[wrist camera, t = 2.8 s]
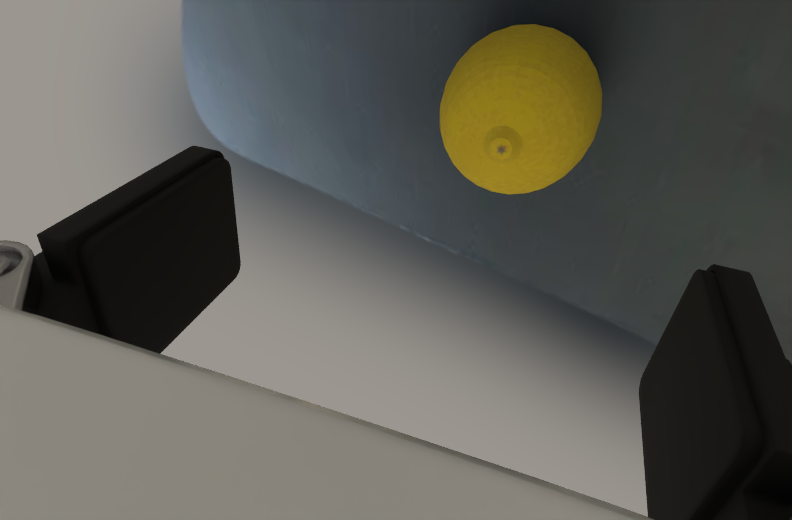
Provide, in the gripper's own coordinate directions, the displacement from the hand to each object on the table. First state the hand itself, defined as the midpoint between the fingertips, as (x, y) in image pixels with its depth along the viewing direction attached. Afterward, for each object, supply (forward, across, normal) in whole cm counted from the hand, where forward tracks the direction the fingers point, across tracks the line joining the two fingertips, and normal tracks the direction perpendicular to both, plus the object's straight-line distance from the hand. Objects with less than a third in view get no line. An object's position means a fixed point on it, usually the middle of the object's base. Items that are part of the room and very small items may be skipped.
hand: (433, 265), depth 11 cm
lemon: (+15, 0, 0) cm, 15 cm away
